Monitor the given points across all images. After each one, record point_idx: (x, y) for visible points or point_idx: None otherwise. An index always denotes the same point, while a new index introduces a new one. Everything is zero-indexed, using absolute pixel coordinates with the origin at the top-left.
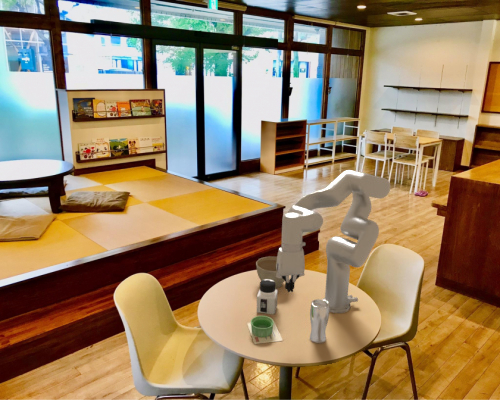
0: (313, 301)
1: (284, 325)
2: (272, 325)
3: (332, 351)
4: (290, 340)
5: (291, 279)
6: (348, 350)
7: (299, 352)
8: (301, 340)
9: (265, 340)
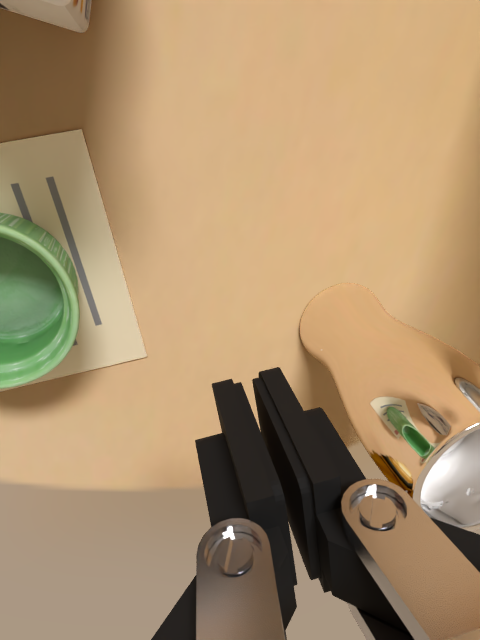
0: (446, 439)
1: (165, 198)
2: (71, 347)
3: None
4: (190, 348)
5: (341, 582)
6: None
7: None
8: (250, 344)
9: None
